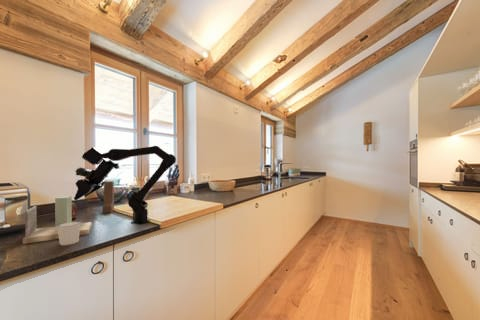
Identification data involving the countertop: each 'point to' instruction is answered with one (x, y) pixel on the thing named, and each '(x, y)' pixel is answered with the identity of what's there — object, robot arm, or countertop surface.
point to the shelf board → (45, 229)
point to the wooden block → (108, 197)
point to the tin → (74, 210)
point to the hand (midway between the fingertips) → (80, 197)
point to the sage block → (63, 210)
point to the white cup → (69, 233)
